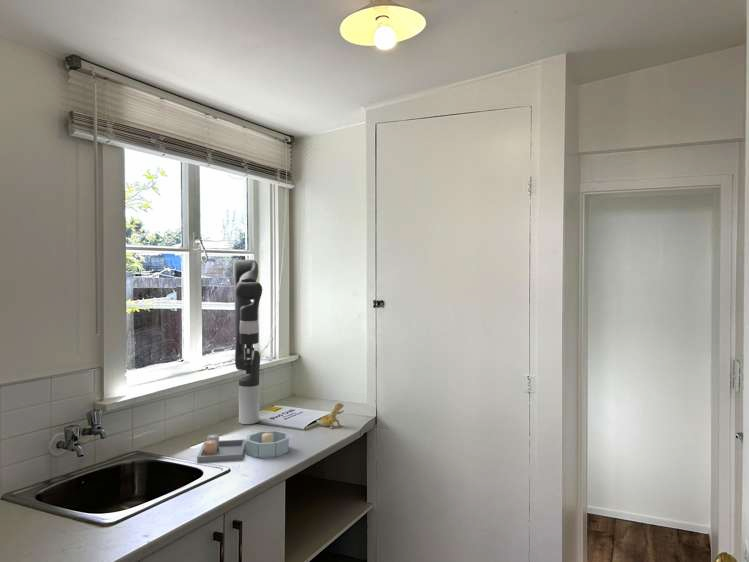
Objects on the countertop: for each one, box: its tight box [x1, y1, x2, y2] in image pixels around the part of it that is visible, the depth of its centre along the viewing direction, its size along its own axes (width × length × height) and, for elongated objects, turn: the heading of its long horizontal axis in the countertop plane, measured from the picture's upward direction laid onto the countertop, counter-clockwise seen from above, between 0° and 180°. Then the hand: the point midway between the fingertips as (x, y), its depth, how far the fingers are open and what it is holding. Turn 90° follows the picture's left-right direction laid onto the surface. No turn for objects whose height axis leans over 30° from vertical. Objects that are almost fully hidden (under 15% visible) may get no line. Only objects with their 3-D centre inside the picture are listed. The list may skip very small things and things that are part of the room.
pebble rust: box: [203, 440, 217, 456], centre depth 199 cm, size 4×4×6 cm
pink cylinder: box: [206, 434, 220, 451], centre depth 206 cm, size 4×4×6 cm
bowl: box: [245, 429, 290, 459], centre depth 206 cm, size 16×16×6 cm
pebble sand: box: [262, 433, 273, 443], centre depth 206 cm, size 4×4×6 cm
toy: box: [316, 402, 345, 430], centre depth 238 cm, size 7×15×10 cm, turn 75°
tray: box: [196, 438, 247, 463], centre depth 203 cm, size 18×16×2 cm
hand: (249, 371), depth 214 cm, fingers open, 8 cm apart
